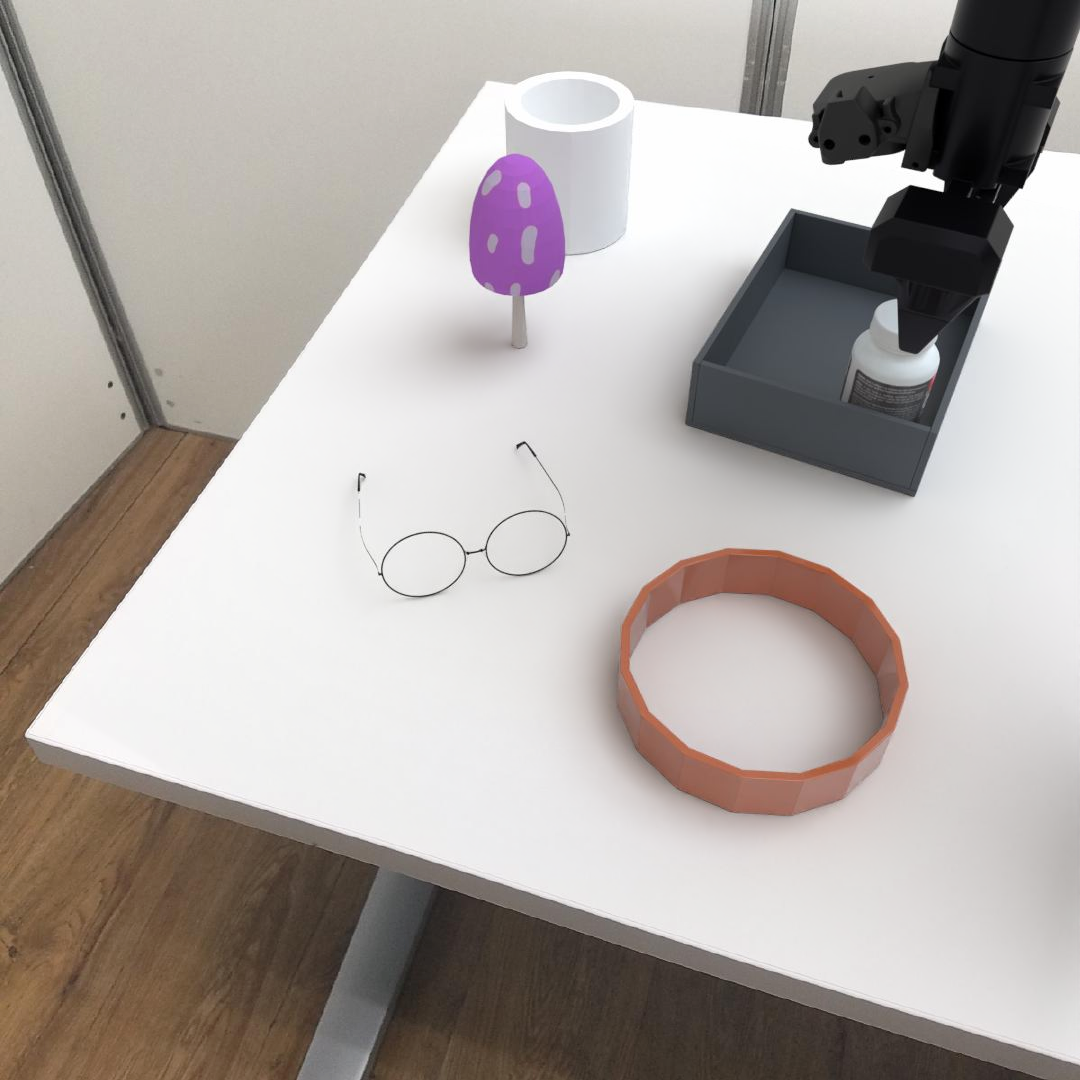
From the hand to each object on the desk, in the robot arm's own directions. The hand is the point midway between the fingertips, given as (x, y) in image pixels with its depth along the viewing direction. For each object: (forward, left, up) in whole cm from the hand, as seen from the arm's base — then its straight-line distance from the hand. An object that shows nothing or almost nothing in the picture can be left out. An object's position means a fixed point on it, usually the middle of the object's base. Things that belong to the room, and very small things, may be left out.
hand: (927, 307), depth 63 cm
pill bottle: (+1, -1, -12) cm, 12 cm away
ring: (+2, +22, -12) cm, 25 cm away
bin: (+5, -8, -12) cm, 15 cm away
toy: (+28, 0, -12) cm, 30 cm away
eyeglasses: (+23, +18, -12) cm, 31 cm away
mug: (+32, -18, -12) cm, 39 cm away
